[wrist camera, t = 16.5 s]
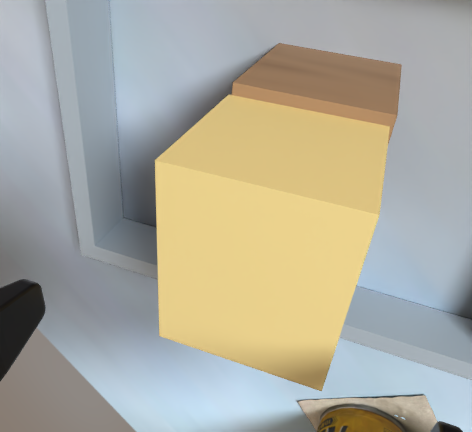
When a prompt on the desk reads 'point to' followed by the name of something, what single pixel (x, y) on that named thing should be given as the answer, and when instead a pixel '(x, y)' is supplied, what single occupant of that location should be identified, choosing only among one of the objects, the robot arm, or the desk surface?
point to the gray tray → (145, 237)
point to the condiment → (370, 414)
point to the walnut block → (324, 84)
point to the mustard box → (266, 233)
